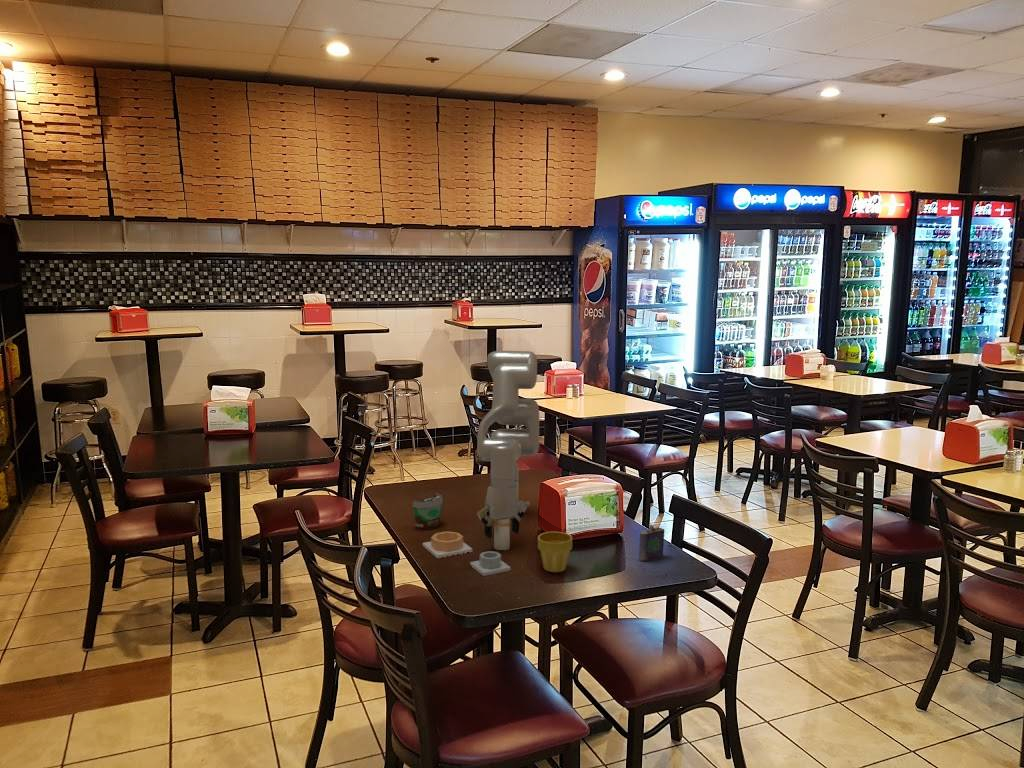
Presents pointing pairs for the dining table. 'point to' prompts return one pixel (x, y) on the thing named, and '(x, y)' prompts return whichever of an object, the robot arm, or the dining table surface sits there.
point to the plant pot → (554, 550)
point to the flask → (651, 544)
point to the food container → (427, 512)
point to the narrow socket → (490, 564)
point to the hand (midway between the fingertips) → (501, 534)
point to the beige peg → (502, 534)
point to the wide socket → (447, 544)
